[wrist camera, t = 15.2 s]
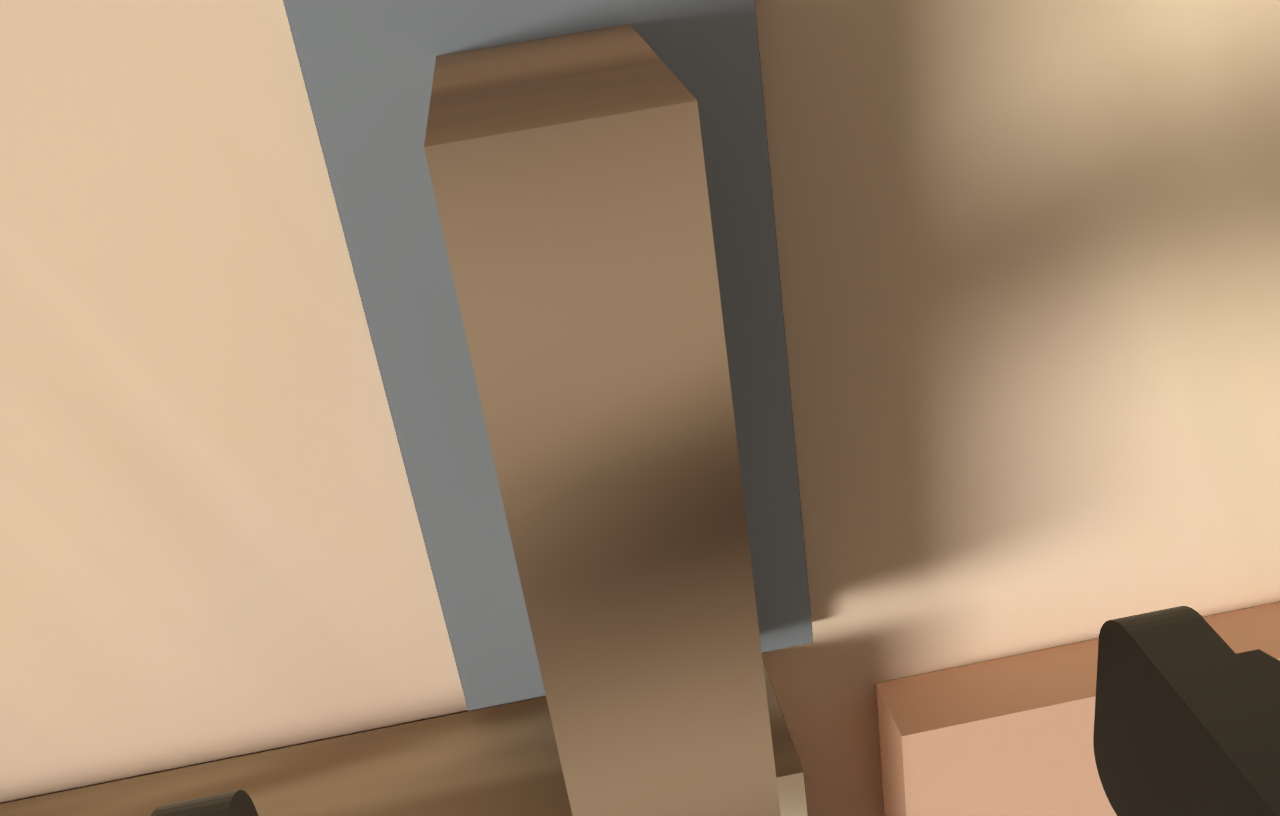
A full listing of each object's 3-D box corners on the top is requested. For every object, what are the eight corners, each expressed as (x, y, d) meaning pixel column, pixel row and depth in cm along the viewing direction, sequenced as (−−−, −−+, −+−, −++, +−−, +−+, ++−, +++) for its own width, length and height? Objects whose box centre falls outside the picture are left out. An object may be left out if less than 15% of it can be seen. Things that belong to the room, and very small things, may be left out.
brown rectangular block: (436, 55, 18) (424, 147, 13) (629, 24, 18) (696, 101, 13) (566, 674, 23) (596, 922, 18) (715, 645, 24) (788, 882, 18)
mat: (280, -37, 18) (274, -34, 17) (735, -110, 18) (744, -109, 18) (468, 691, 24) (468, 711, 24) (805, 625, 24) (813, 642, 24)
